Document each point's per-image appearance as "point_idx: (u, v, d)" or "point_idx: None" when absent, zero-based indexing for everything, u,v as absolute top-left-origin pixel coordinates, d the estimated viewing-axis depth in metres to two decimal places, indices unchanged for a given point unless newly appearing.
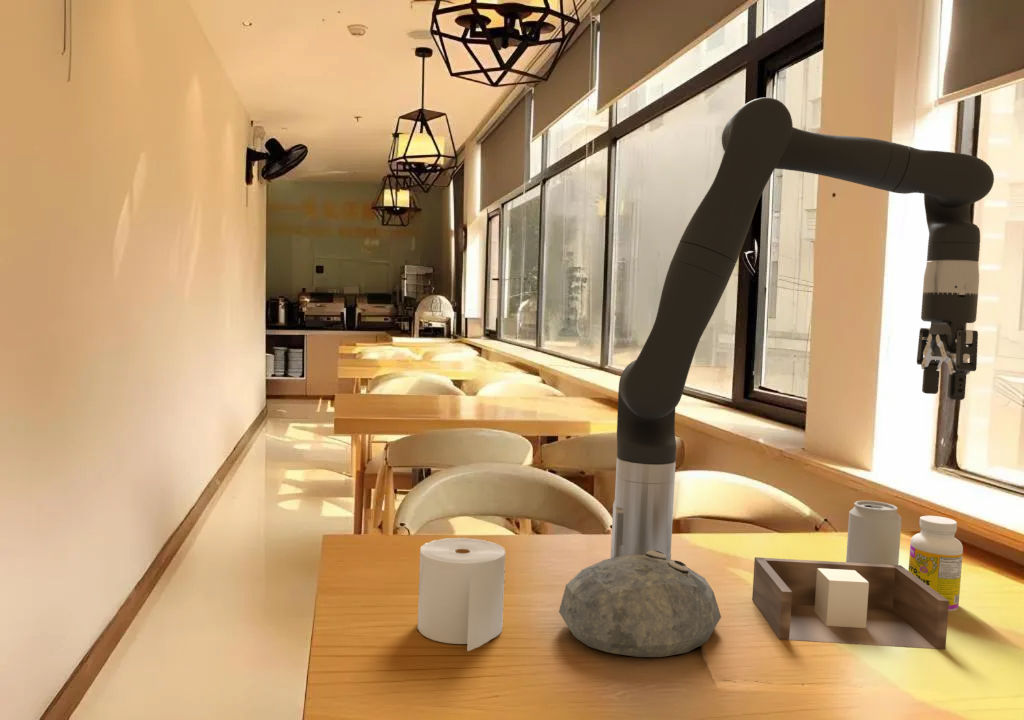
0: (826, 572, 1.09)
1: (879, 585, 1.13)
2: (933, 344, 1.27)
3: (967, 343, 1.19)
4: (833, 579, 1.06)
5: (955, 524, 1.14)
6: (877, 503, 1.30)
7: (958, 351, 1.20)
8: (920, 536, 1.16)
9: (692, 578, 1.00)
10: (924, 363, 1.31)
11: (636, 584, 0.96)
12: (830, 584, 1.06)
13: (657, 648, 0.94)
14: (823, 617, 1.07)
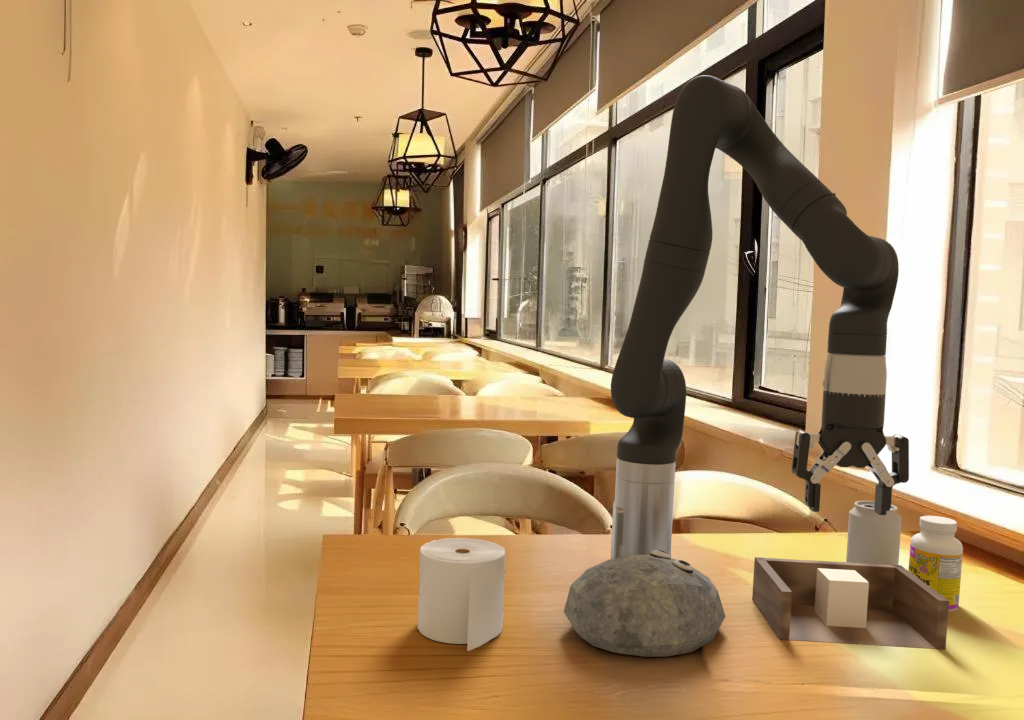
0: (826, 572, 1.09)
1: (879, 585, 1.13)
2: None
3: None
4: (833, 579, 1.06)
5: (955, 524, 1.14)
6: None
7: (905, 461, 1.05)
8: (920, 536, 1.16)
9: (696, 577, 1.01)
10: (819, 476, 1.06)
11: (642, 584, 0.96)
12: (830, 584, 1.06)
13: (663, 648, 0.94)
14: (823, 617, 1.07)
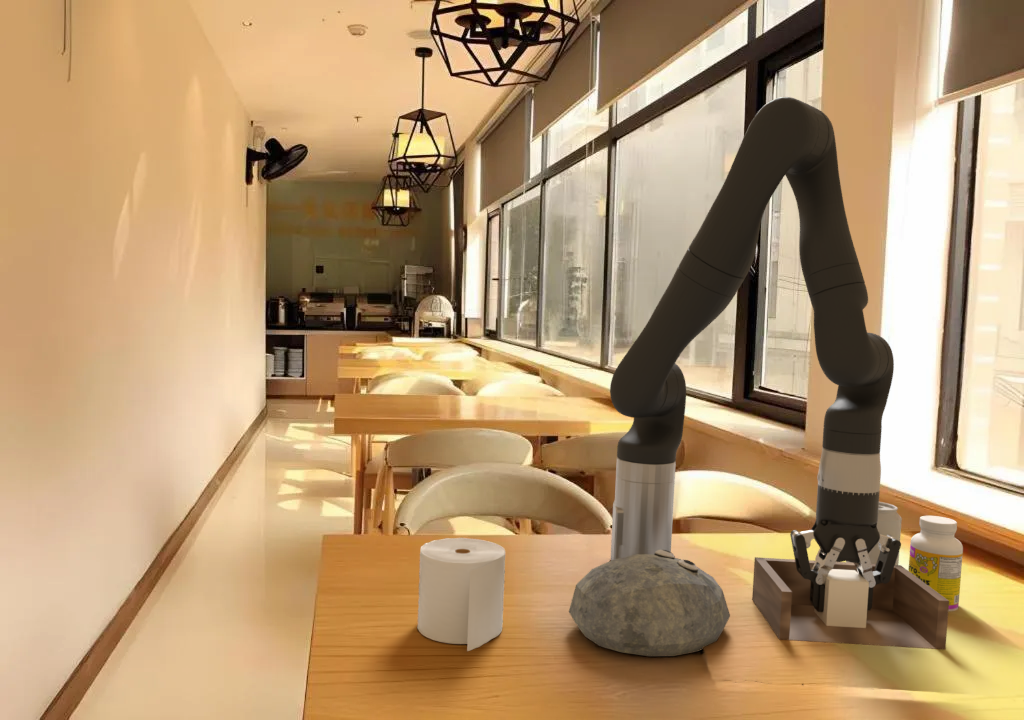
0: None
1: (879, 585, 1.13)
2: None
3: None
4: (833, 579, 1.06)
5: (955, 524, 1.14)
6: None
7: (891, 563, 1.06)
8: (920, 536, 1.16)
9: (701, 577, 1.01)
10: (823, 576, 1.07)
11: (648, 584, 0.97)
12: (830, 584, 1.06)
13: (669, 647, 0.95)
14: (823, 617, 1.07)
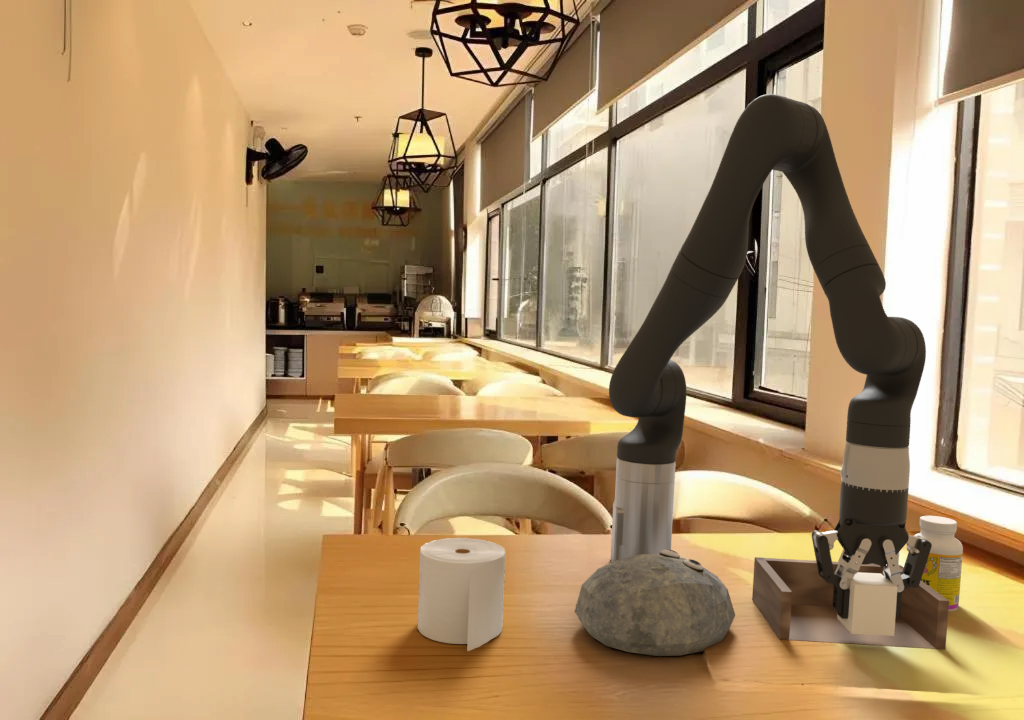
0: None
1: None
2: None
3: None
4: (859, 583, 0.98)
5: (955, 524, 1.14)
6: None
7: (921, 566, 0.98)
8: None
9: (707, 576, 1.01)
10: (847, 580, 0.99)
11: (654, 584, 0.97)
12: (855, 589, 0.98)
13: (676, 647, 0.95)
14: (848, 624, 0.99)
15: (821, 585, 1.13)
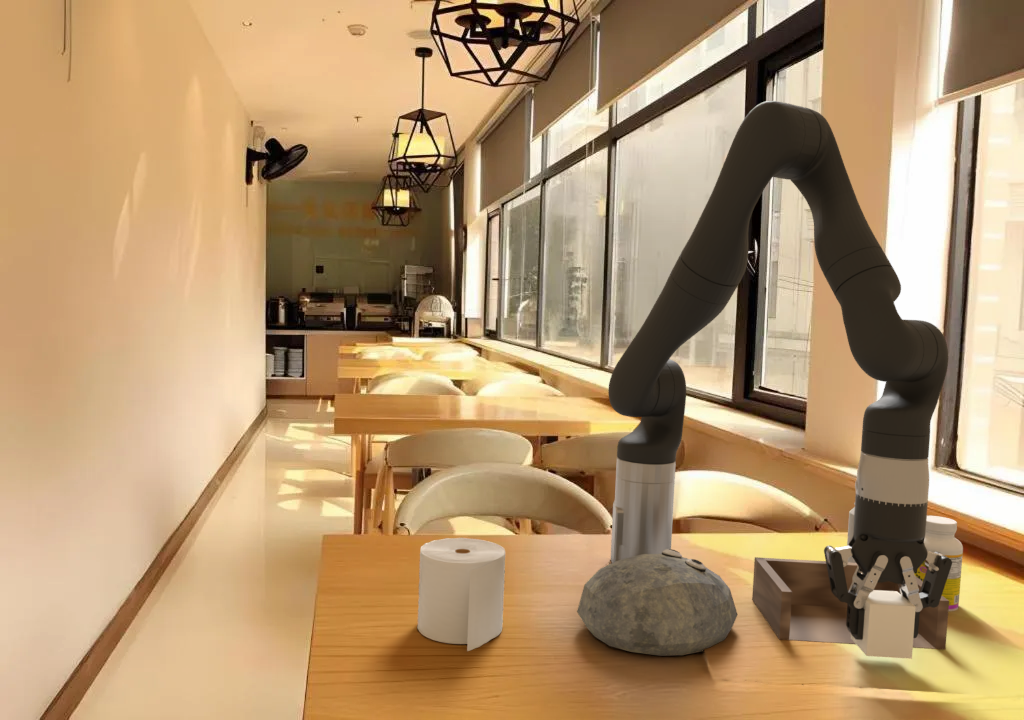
0: None
1: (879, 585, 1.13)
2: None
3: None
4: (874, 602, 0.93)
5: (955, 524, 1.14)
6: None
7: (940, 584, 0.93)
8: None
9: (709, 576, 1.01)
10: (862, 599, 0.93)
11: (657, 583, 0.97)
12: (871, 608, 0.92)
13: (679, 646, 0.95)
14: (862, 646, 0.94)
15: (821, 585, 1.13)
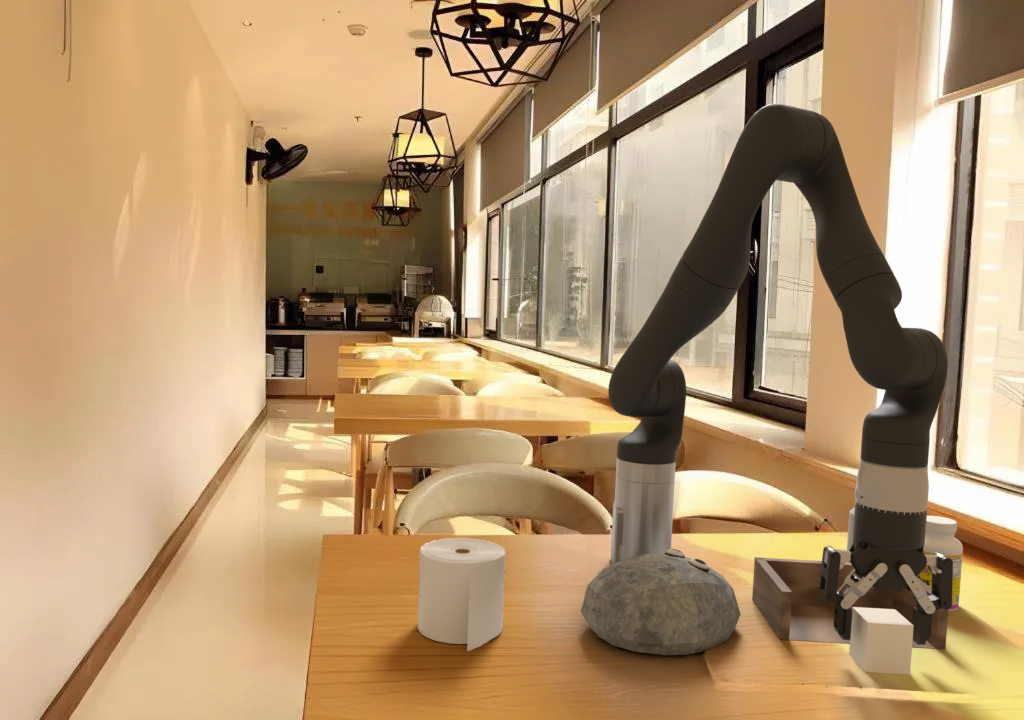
0: (864, 612, 0.95)
1: None
2: None
3: None
4: (873, 621, 0.93)
5: (955, 524, 1.14)
6: None
7: (948, 585, 0.93)
8: None
9: (713, 576, 1.02)
10: (850, 601, 0.93)
11: (661, 583, 0.97)
12: (869, 627, 0.92)
13: (683, 646, 0.95)
14: (860, 664, 0.94)
15: None
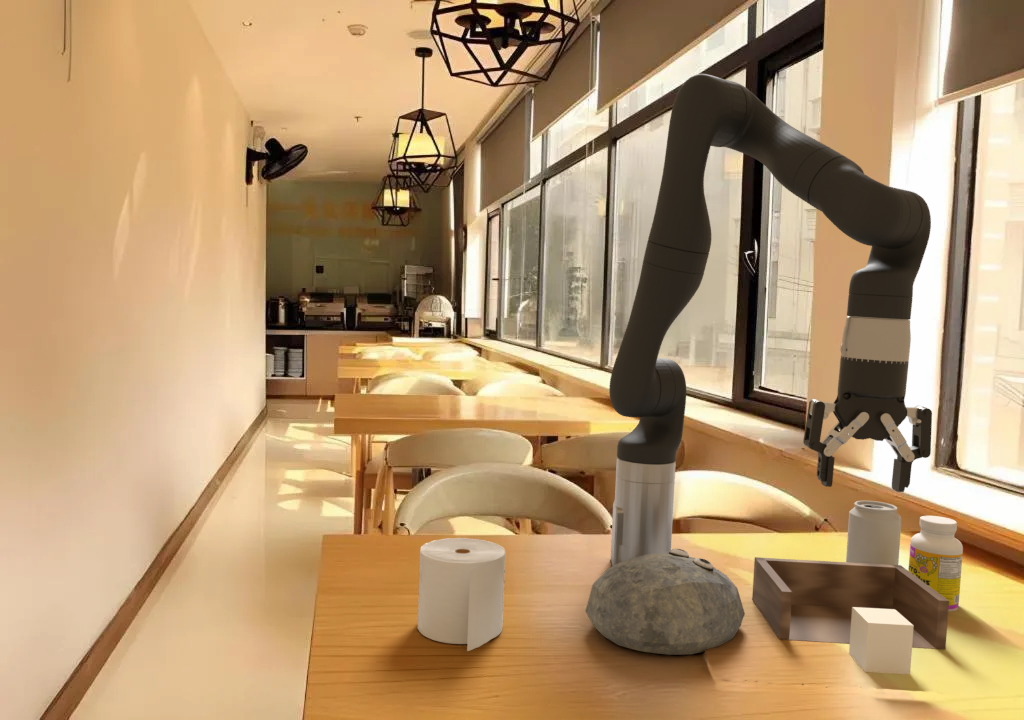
0: (864, 612, 0.95)
1: (879, 585, 1.13)
2: None
3: None
4: (873, 621, 0.93)
5: (955, 524, 1.14)
6: (877, 503, 1.30)
7: (927, 434, 0.98)
8: (920, 536, 1.16)
9: (717, 575, 1.02)
10: (833, 448, 0.98)
11: (666, 583, 0.97)
12: (869, 627, 0.92)
13: (688, 646, 0.95)
14: (860, 664, 0.94)
15: (821, 585, 1.13)
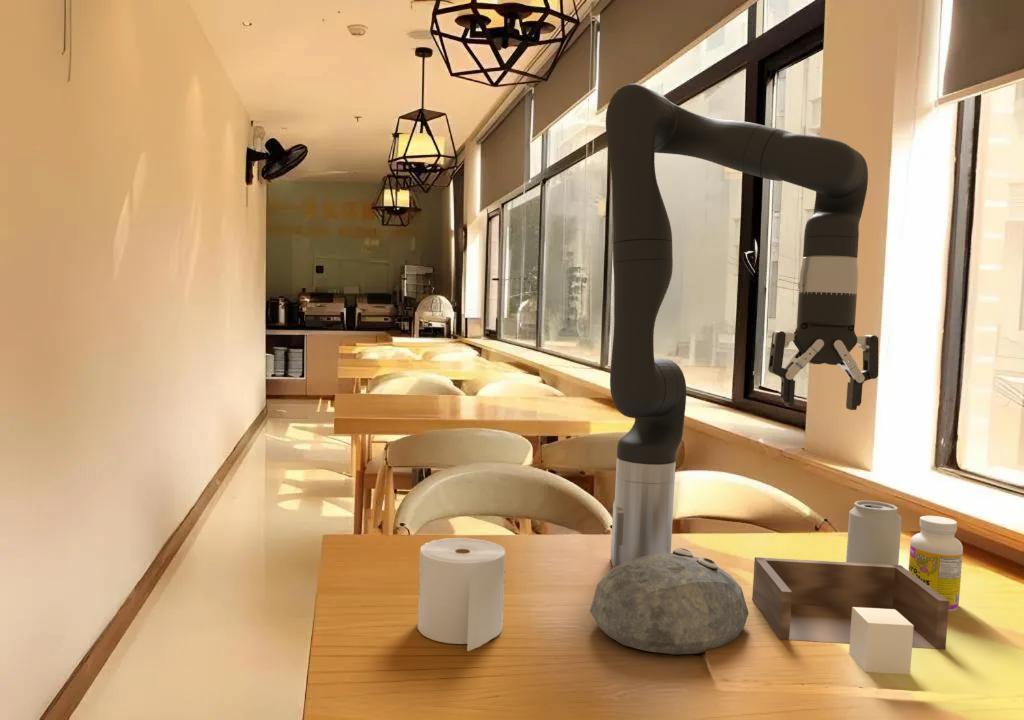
0: (864, 612, 0.95)
1: (879, 585, 1.13)
2: None
3: None
4: (873, 621, 0.93)
5: (955, 524, 1.14)
6: (877, 503, 1.30)
7: (874, 358, 1.12)
8: (920, 536, 1.16)
9: (721, 575, 1.02)
10: (793, 372, 1.12)
11: (672, 582, 0.97)
12: (869, 627, 0.92)
13: (694, 645, 0.96)
14: (860, 664, 0.94)
15: (821, 585, 1.13)
